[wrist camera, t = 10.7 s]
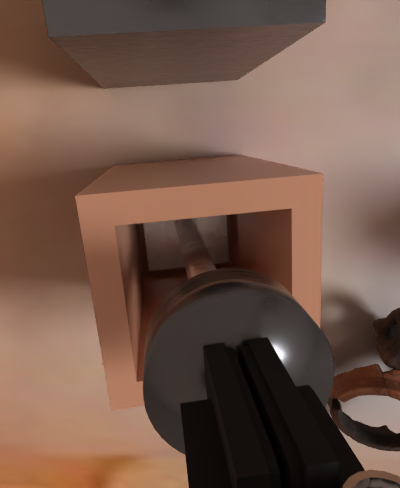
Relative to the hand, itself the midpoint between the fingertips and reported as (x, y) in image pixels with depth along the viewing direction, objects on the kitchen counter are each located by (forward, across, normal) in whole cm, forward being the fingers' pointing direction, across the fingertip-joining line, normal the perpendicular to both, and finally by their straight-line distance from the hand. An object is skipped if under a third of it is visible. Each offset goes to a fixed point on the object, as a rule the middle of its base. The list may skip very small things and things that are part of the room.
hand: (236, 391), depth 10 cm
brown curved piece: (+20, -16, +13) cm, 28 cm away
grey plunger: (+18, 0, 0) cm, 18 cm away
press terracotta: (+19, 0, +1) cm, 19 cm away
